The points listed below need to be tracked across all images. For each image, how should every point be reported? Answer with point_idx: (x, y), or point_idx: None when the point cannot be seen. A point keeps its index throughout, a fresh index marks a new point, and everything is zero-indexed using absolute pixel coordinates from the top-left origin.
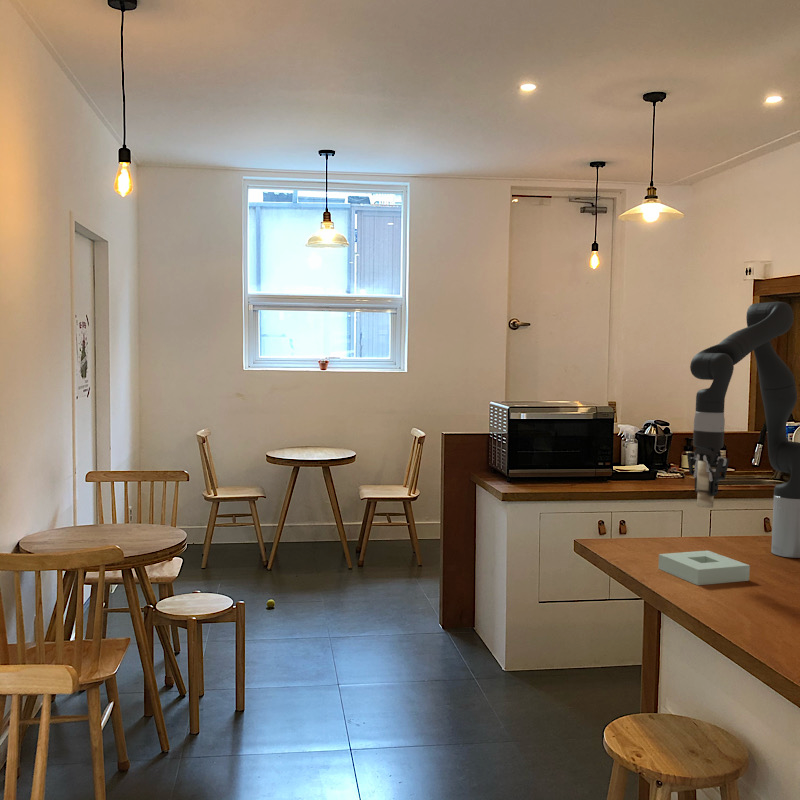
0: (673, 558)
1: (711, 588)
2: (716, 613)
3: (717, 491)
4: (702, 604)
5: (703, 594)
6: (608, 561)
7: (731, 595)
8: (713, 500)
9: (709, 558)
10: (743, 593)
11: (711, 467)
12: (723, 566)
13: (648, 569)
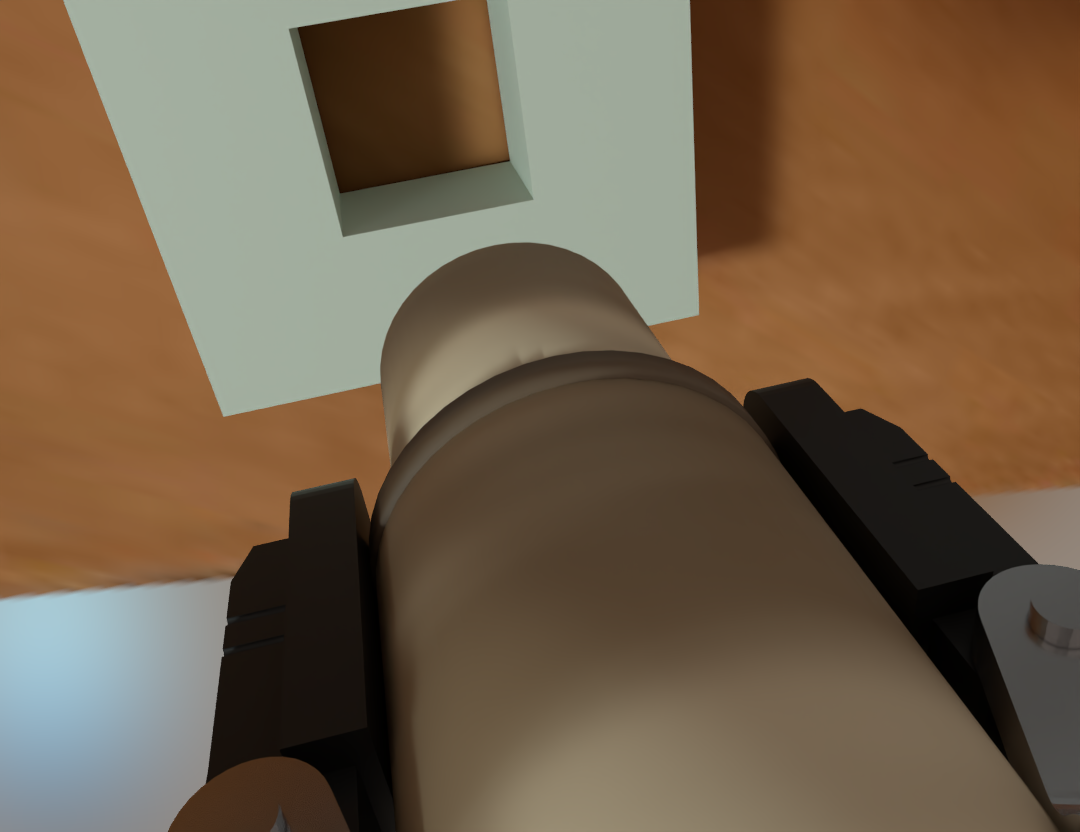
0: (371, 359)
1: (723, 198)
2: (1065, 382)
3: (905, 443)
4: (942, 388)
5: (810, 307)
6: (23, 596)
7: (881, 145)
8: (633, 316)
9: (354, 15)
10: (876, 32)
11: None
12: (664, 60)
13: (233, 418)
